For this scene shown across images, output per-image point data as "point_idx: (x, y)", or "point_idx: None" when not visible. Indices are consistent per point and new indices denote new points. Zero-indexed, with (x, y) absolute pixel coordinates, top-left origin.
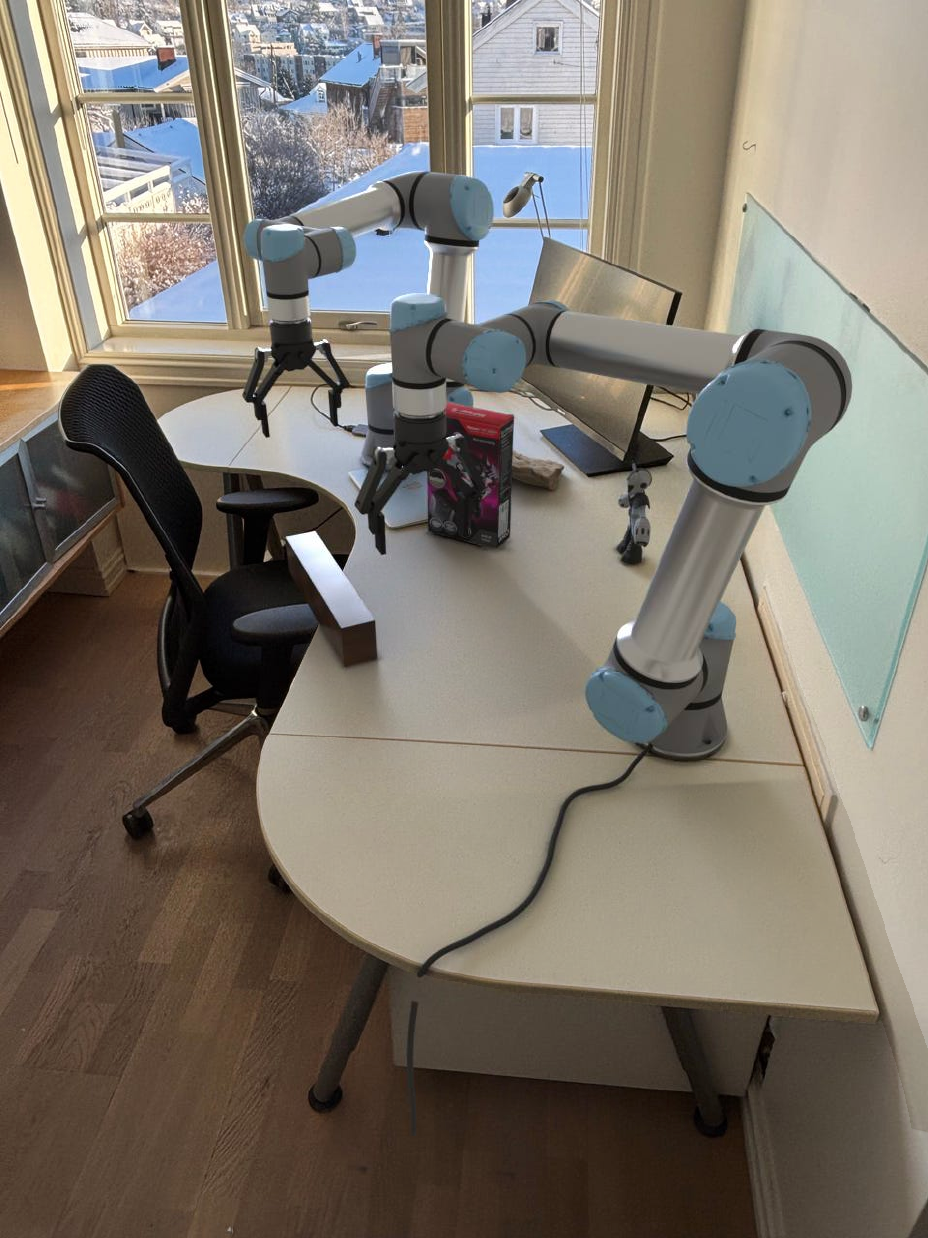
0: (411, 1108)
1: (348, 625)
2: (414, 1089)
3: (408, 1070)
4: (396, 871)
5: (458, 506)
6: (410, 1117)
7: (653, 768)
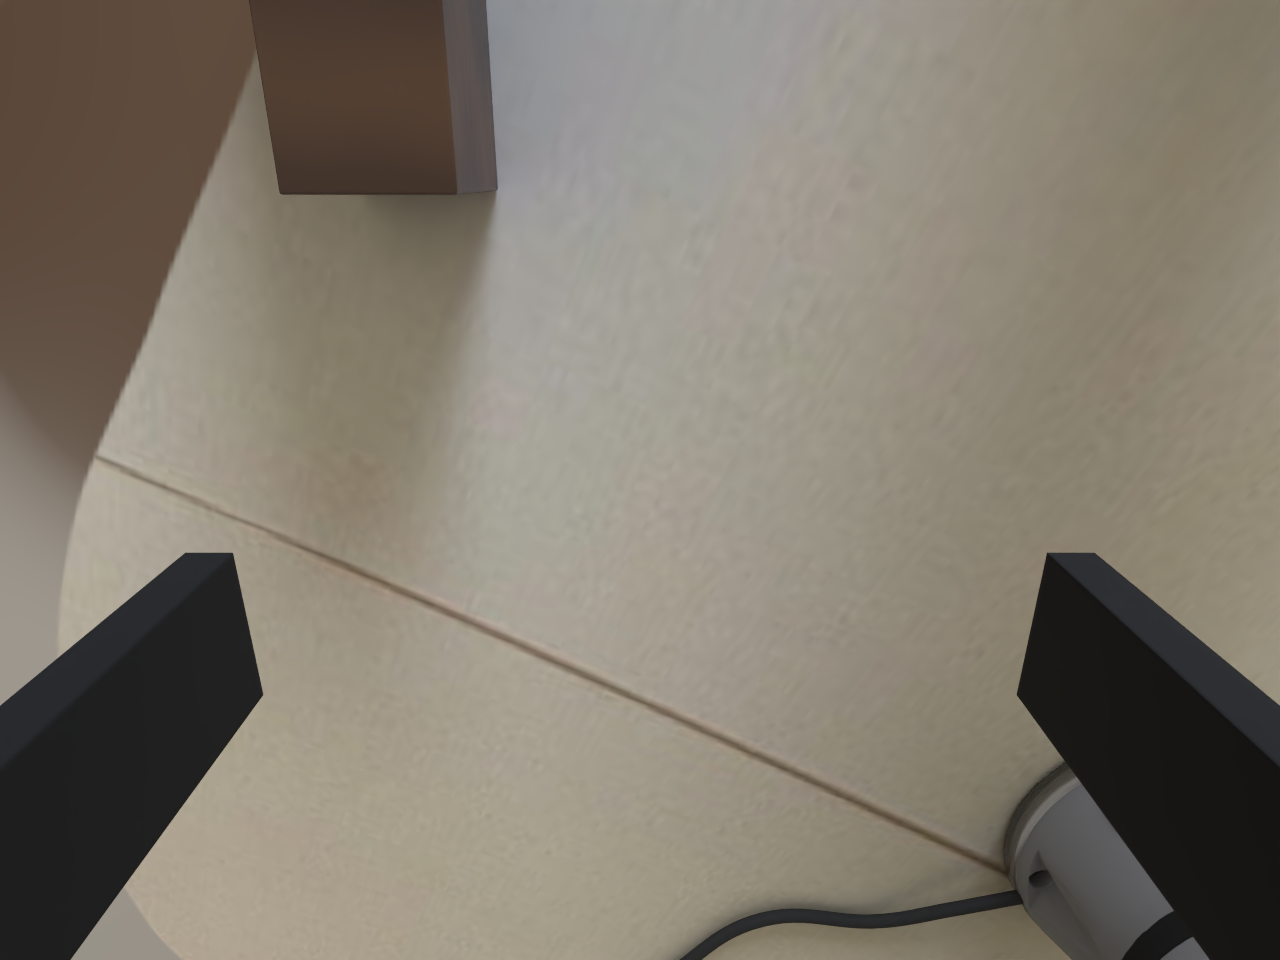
0: None
1: (318, 184)
2: None
3: None
4: (328, 932)
5: (1232, 788)
6: None
7: None
